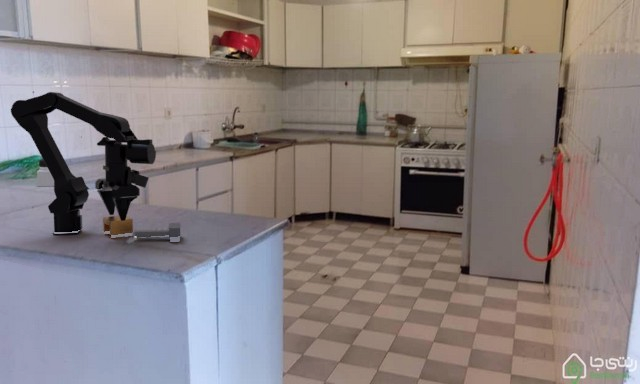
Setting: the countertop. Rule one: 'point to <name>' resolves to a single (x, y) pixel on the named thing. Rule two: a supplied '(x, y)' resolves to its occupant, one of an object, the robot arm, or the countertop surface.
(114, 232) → the wooden u-channel block
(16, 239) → the countertop surface
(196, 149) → the countertop surface
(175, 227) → the hammer
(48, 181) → the medicine bottle
